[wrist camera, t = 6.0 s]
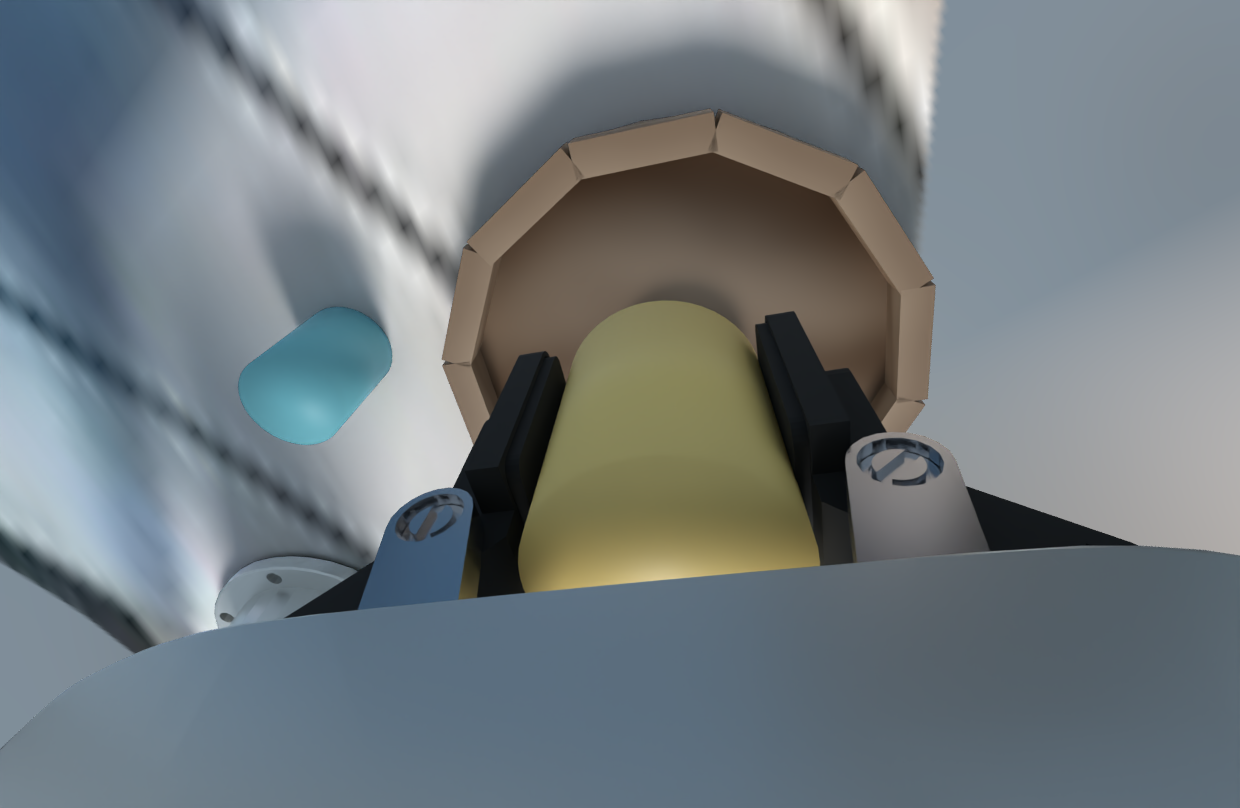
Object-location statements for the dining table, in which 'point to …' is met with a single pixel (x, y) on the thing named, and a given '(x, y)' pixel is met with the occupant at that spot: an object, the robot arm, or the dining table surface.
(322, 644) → the robot arm
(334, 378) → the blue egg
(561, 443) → the ochre bead
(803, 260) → the groove tray
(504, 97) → the dining table surface
